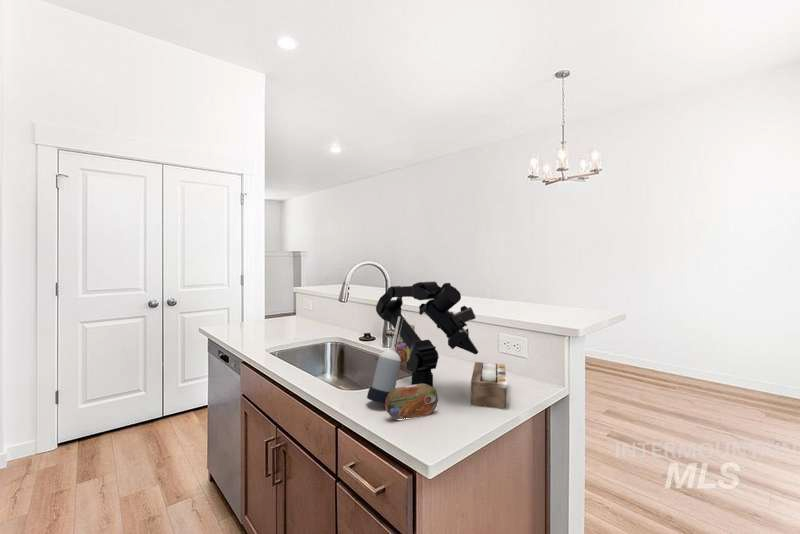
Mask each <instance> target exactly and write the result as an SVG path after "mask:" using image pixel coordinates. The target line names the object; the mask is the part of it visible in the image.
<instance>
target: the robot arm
mask: <svg viewBox="0 0 800 534" xmlns="http://www.w3.org/2000/svg"><path fill="white" fill-rule="evenodd" d="M460 292H461V291H459V290H458V289H457V288H456V287H454V286H453V285H452V284H451V283H450V282H444V283H443V284H442V286H439V285H438V282H437V281H419V282H416V283H413V285H408V286H401V285H392V286H389V287H388V288H387V290H386V292H385V293H383V295H382V296H380V298H379V300H378V301H377V303H376V306H375V311H376V313H377V315H378V317H380V318H381V319H382V320H383V321H386V322H388V323H390V325H391V326H392V327H393V329H394V328H395V329H396V324H397V320H398V316H399V317H401V318H400V322H399V327H398V334H399V333H400V337H401V338H402V339H403V341H404V342H405V344H406V345H407V346H408V348H409V349H410V359H409V360H408V361H407V362H406V363H405V366H406V370H408V371H409V372H411V382H410V385H415V384H422V383H423V384H427V385H430V386H432V387H433V388H434V374H433V372H432V370H435V369H436V368H437V364H438V361H439V357H440V356H439V353H438V350H437V349H436V348H437V346H435V345H434V344H433V342H432V341H431V340H430V339H423V340H422V339H421V338H420V336H419V335H418V334H417V332H415V329H414V330H413V329H412V328H411V326H410V325H411V324H410V325H409V322H408V321H407V320H406V318H405V317H404V316H403V314H402V306H403V304H404V302H403V297H404V298H406V297H407V298H408V297H409V298H410V297H411V298H413V299H414V300H418V301H427V302H425V303H423V302H422V303H421V304H420V305H419V306H418V308H419V309H418V310H419V311H418V312H419V313H418V314H419V316H422V315H423V314H425V315H426V316H427V317H429V319H431V321H432V322H433V323H434V324H435V325H436V328H437V329H439V330H441V331H442V332H443V334H445V337H446V338H447V345H448V346H449V348H450V349H452V350H454V349H455V348H458V349H459V348H460V349H462V350H464V351H467V352H469V353H471V354H473V355H477V354H478V353H479V350H478V348H477V347H476V346H475V344H474V342H473V340H471V338H470V336H469V335H470V333H469V332H470V331H469V328H466V329H465V328H464V327H467V326H468V324H467V323H466V322H469V321H473V320H475V319H476V315H475V312H474V310H473V308H472V307H471V306H470V307H467V306H466V305H463V306H461V307H460V311H458V312H456V313H454V312H453V311H450V310H451V309H452V308H453V307H454V306H456V304H458V303H459V302H460V301H461V299H462V295H461V293H460ZM393 298H396V299H393ZM402 320H403V321H402ZM401 324H402V326H401ZM400 328H401V329H400Z"/></svg>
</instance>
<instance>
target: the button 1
mask: <svg viewBox="0 0 800 534" xmlns="http://www.w3.org/2000/svg"><path fill="white" fill-rule="evenodd" d="M482 381H484V382H495V383H496V371H495V370H493V369H483V370H482Z"/></svg>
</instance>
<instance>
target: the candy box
mask: <svg viewBox="0 0 800 534" xmlns="http://www.w3.org/2000/svg"><path fill="white" fill-rule="evenodd" d="M408 324H409V323H408ZM409 325H410V326H411V328H412V329H413V330H414V331H415V325H412V324H409ZM393 331H394V332H393V333H394V334H395V328H394V327H393ZM398 339H399V340H398ZM397 342H398V344H397ZM396 346H397V348H396ZM394 350H396V351H395V352H396V353H397V354H398V355H399V357H400V359H401V363H403V364H406V362H407V361H408V360H409V359H410V349H409V348H408V346H407V345H406V344H405V342H404V341H403V339H402V338H401V337H399V334H397V337H396V340H395V346H394Z"/></svg>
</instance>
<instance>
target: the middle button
mask: <svg viewBox="0 0 800 534" xmlns="http://www.w3.org/2000/svg"><path fill="white" fill-rule="evenodd" d="M482 363H483V369H493V370H495V371H496V364H497V363H494V362H482Z"/></svg>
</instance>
